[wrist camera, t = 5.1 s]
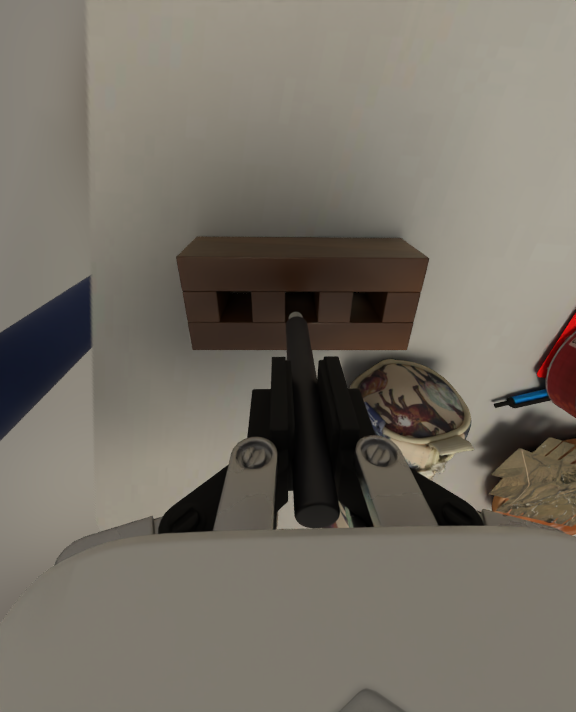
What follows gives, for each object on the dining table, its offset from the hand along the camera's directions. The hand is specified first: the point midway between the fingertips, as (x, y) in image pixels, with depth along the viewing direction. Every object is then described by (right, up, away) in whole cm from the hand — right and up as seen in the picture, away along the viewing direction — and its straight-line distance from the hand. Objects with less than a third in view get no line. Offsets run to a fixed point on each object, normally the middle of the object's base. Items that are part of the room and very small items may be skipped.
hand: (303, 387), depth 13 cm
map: (+28, -11, +19) cm, 36 cm away
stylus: (0, +3, +6) cm, 7 cm away
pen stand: (0, +7, +10) cm, 13 cm away
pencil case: (+8, -8, +20) cm, 23 cm away
